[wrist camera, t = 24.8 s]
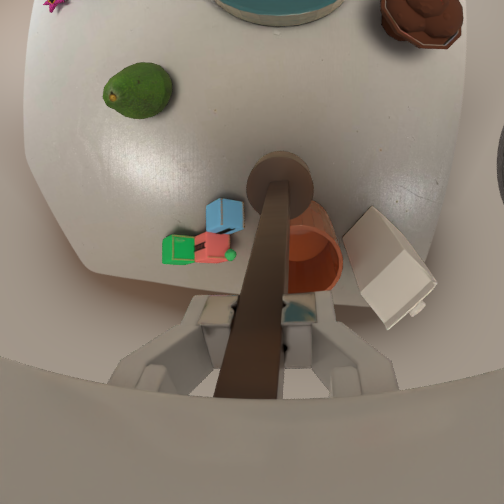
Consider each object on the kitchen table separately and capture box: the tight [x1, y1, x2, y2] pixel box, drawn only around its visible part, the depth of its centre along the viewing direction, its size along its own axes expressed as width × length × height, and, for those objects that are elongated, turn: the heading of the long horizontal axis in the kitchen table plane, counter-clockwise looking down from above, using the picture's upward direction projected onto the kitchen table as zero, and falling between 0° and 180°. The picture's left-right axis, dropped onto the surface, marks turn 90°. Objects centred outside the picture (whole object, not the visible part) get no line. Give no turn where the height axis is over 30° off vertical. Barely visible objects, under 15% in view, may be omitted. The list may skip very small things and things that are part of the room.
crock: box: [288, 200, 343, 294], centre depth 42 cm, size 11×11×11 cm
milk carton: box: [342, 206, 437, 330], centre depth 37 cm, size 7×7×19 cm
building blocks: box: [162, 198, 245, 265], centre depth 45 cm, size 8×8×12 cm
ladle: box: [213, 151, 314, 399], centre depth 15 cm, size 5×5×23 cm
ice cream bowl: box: [380, 0, 463, 49], centre depth 24 cm, size 11×11×15 cm
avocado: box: [103, 62, 172, 119], centre depth 34 cm, size 8×8×12 cm
